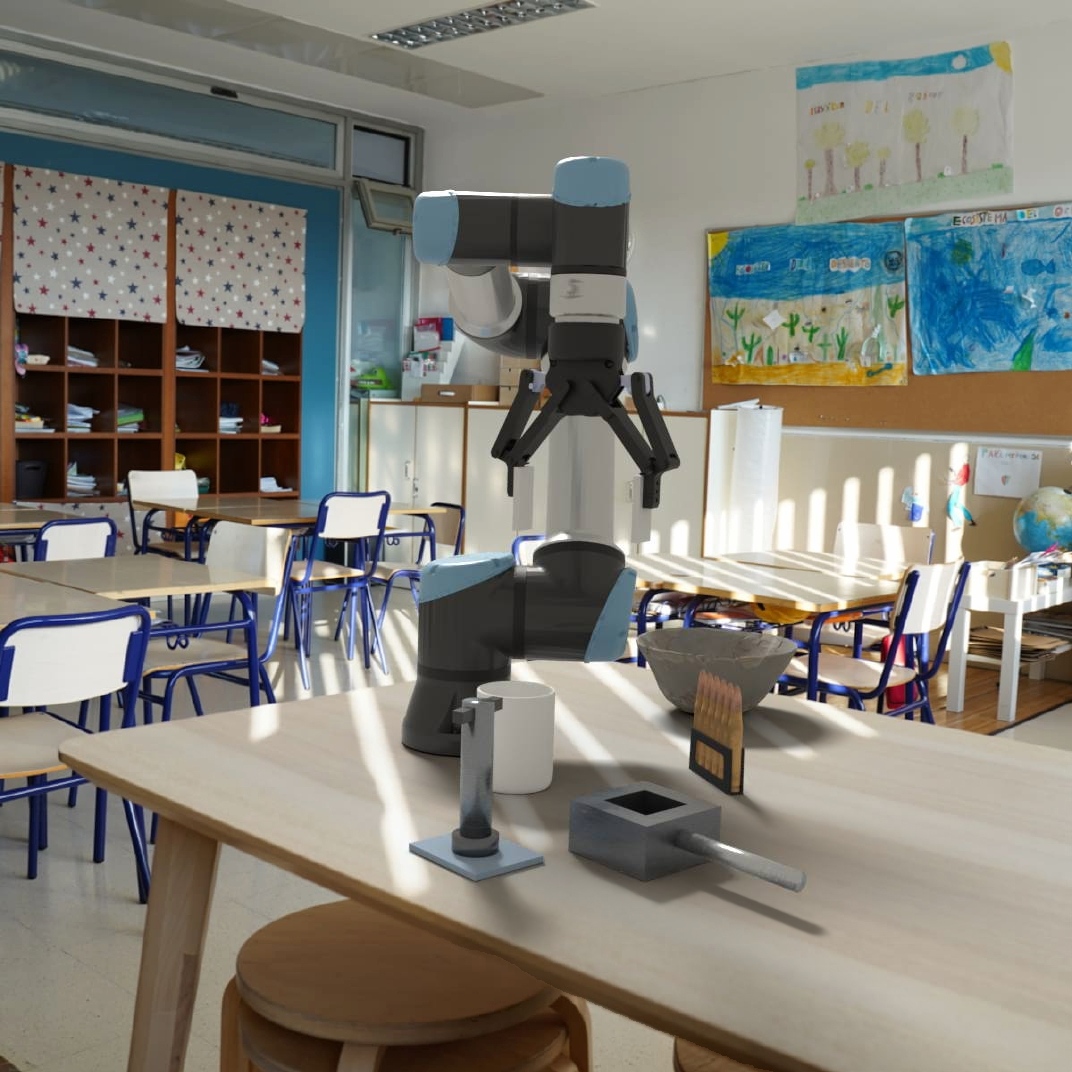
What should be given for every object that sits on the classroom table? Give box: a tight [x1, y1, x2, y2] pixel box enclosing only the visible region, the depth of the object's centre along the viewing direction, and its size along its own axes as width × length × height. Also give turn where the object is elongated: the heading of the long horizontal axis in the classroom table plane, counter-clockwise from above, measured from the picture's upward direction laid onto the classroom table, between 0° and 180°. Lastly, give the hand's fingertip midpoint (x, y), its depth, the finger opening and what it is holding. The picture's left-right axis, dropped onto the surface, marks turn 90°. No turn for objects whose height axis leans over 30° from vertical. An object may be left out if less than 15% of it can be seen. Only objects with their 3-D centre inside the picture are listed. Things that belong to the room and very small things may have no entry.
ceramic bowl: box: [635, 626, 798, 714], centre depth 179 cm, size 22×23×10 cm
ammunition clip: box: [688, 669, 746, 796], centre depth 145 cm, size 11×2×12 cm, turn 17°
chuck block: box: [567, 780, 807, 894], centre depth 115 cm, size 23×10×5 cm, turn 41°
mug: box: [477, 680, 556, 795], centre depth 143 cm, size 9×12×11 cm
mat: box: [408, 832, 545, 882], centre depth 119 cm, size 10×8×1 cm
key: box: [451, 696, 503, 858], centre depth 118 cm, size 7×4×14 cm, turn 151°
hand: (579, 536), depth 128 cm, fingers open, 13 cm apart
